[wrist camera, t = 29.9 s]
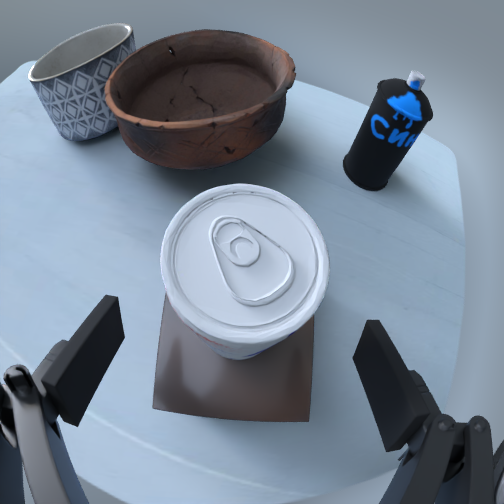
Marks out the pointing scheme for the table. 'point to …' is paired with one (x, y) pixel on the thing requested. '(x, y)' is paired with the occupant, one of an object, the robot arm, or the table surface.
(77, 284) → the table surface
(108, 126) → the planter
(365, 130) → the aerosol can
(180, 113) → the bowl
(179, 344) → the chest lid
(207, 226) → the beverage can
